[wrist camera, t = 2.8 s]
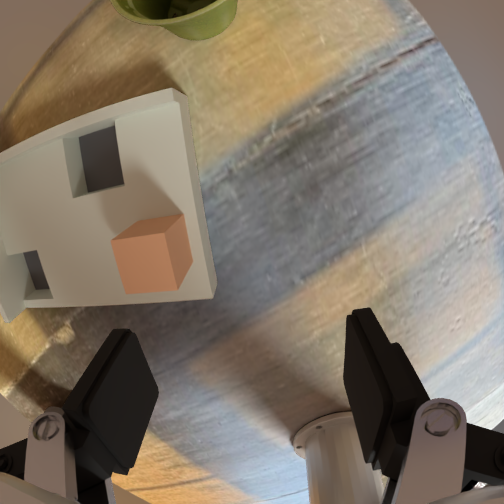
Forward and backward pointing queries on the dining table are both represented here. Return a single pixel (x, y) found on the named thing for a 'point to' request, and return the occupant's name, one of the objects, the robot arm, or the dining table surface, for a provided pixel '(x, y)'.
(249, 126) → the dining table surface
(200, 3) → the plant pot
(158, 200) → the tray
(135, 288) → the block
